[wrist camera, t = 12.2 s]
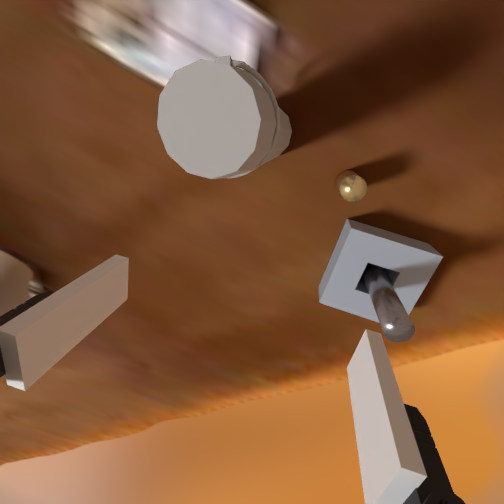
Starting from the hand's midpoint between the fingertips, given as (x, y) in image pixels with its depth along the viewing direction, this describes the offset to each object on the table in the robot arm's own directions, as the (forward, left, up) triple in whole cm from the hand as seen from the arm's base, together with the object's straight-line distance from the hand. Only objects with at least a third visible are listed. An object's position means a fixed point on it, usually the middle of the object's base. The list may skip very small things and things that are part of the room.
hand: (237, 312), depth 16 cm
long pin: (+6, +15, -30) cm, 34 cm away
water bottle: (-9, -6, -30) cm, 32 cm away
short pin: (-5, +7, -30) cm, 31 cm away
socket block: (+6, +15, -30) cm, 34 cm away
